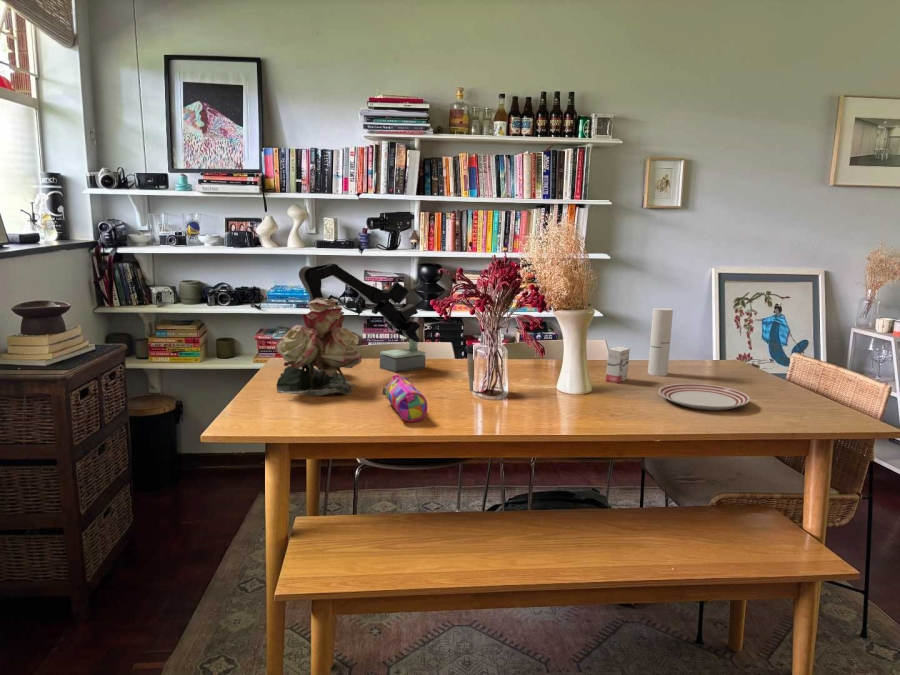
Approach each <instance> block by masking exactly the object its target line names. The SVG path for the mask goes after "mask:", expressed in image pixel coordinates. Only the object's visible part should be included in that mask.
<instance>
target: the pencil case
mask: <svg viewBox="0 0 900 675" xmlns="http://www.w3.org/2000/svg"><path fill="white" fill-rule="evenodd" d="M382 395H383V396H386V398H387V400H388V402H389V403H390V404H391V405H392V407H393V408H394V410H395V411H396V412H397V414H398V416H400V418H401V419H402V420H404V421H406V422H409V423H410V422H412V423H413V422H419V421H420V420H422V419H423V418H424V417H425V416H426V415H427V412H428V401H427V399H426V397H425V395H423V393H421V392H420V391H419V390H418V389H417V388H416V386H414V385H413V384H412V382H411V381H410V379H408V378H406V377H403V376H400V374H394V375H392V380H391V381H389V383H388V384H387V385H386V387H385V388H383V389H382Z"/></svg>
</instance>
